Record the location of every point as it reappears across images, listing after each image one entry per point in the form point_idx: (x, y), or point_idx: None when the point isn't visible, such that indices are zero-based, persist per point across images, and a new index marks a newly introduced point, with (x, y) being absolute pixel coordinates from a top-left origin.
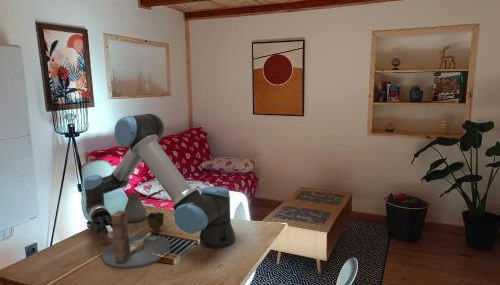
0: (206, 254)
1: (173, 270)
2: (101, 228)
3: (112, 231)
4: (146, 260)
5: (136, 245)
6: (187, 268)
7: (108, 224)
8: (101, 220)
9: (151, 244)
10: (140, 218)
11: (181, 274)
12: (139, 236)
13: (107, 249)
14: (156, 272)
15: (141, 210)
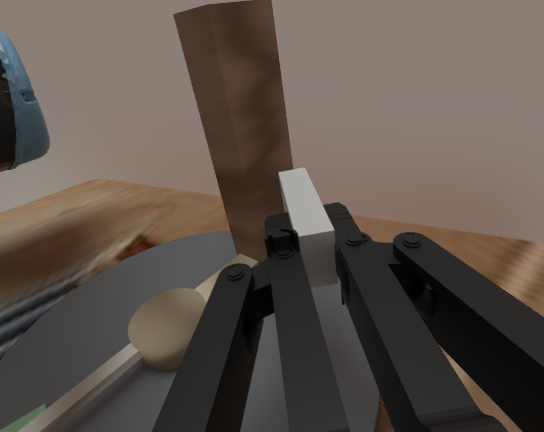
0: (29, 253)
1: (160, 214)
2: (380, 244)
3: (285, 174)
4: (197, 239)
5: (183, 291)
6: (128, 215)
7: (311, 295)
8: (448, 420)
9: (92, 357)
10: None
11: (157, 201)
12: None
13: (352, 406)
14: (199, 216)
15: None
